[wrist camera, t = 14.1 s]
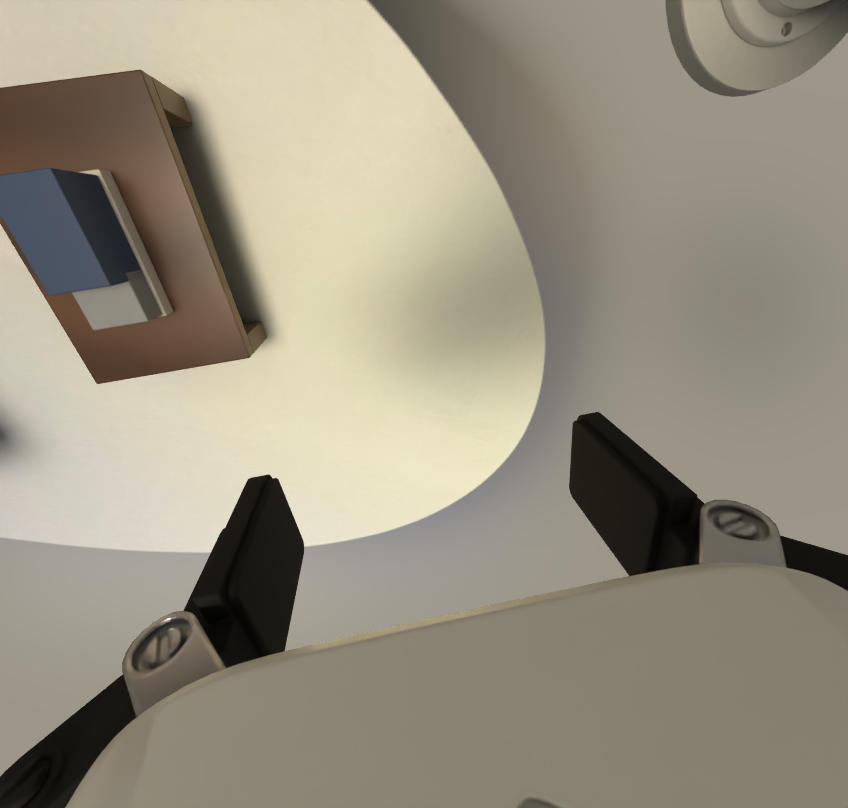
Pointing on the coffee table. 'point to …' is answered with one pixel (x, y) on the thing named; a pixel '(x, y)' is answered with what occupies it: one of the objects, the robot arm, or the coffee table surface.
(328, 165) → the coffee table surface
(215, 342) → the low brown table
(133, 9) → the coffee table surface
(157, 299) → the stacked block assembly
